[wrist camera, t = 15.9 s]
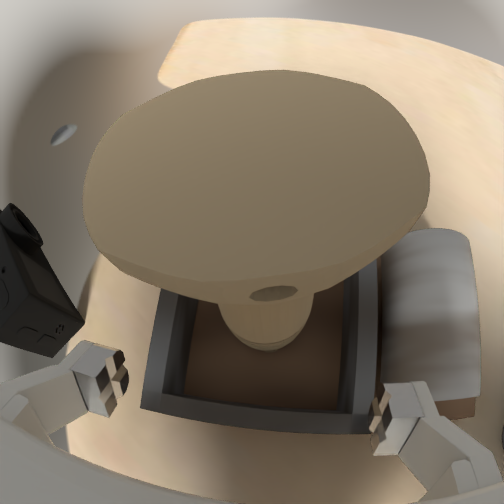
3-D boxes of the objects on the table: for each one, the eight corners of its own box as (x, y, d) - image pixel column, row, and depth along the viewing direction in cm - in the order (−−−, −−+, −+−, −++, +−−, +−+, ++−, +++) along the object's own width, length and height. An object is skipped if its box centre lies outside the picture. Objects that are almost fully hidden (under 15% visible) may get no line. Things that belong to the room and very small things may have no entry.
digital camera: (97, 314, 22) (41, 281, 15) (53, 359, 20) (-9, 339, 14) (46, 232, 25) (1, 190, 19) (10, 271, 24) (-39, 238, 17)
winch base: (463, 416, 16) (523, 414, 10) (172, 405, 19) (129, 408, 12) (458, 260, 21) (503, 216, 15) (201, 238, 23) (178, 183, 17)
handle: (211, 295, 20) (106, 100, 6) (313, 282, 20) (373, 67, 6) (218, 372, 18) (66, 299, 4) (327, 357, 18) (466, 245, 4)
